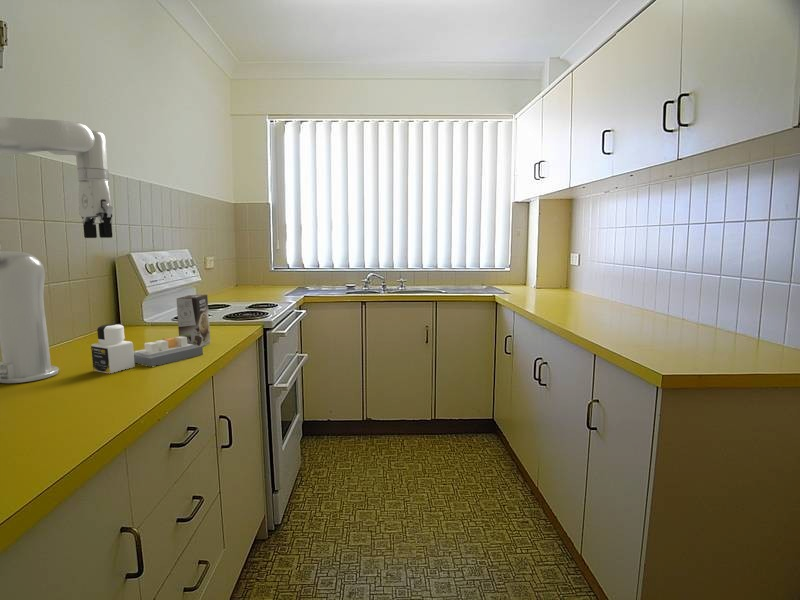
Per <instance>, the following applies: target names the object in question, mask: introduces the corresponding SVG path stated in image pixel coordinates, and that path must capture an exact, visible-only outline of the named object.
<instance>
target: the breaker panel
mask: <svg viewBox="0 0 800 600" xmlns="http://www.w3.org/2000/svg"><path fill="white" fill-rule="evenodd" d="M133 352H134V363H138V364H137V365H139V364H143V365H147V366H150V367H149V368H152V367H151V366H155V367H157V366H156V365H159V366H162V364H163V365H166V363H167V364H170V363H174V362H179V361H183V360H186V359H191V358H194V357H198V356H203V355H204V351H203V347H202V346H197V345H193V344H187V337H183V336H179V335H178V336H174V337H165V338H162V339H160V340H155V341H150V342H149V341H148V342H144V348H141V349H139V350H133ZM143 365H142V366H143ZM147 366H146V367H147Z"/></svg>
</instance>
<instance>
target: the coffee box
mask: <svg viewBox="0 0 800 600" xmlns="http://www.w3.org/2000/svg"><path fill="white" fill-rule="evenodd" d="M176 309H177V310H176V311H177V312H176V313H177V328H178V336H183V337H187V344H193V345H197V346H202V348H204V347H206V346H207V345H209V344H211V331H210V318H209V302H208V294H192V295H191V294H189V295H184V296H182V297H178V298H176Z"/></svg>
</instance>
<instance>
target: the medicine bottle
mask: <svg viewBox="0 0 800 600" xmlns="http://www.w3.org/2000/svg"><path fill="white" fill-rule="evenodd" d="M96 330H97V340H98V342H97V343H92V344H91V345H90V350H91V358H92V368H93V370H92V371H94V372H98V373H102V374H103V373H104V374H108V373H109V374H108V375H110V373H111V374H114V372H115V373H118V371H119V372H121V370H123V371H126V370H129V368H130V369H134V368H135V367H136V366H135V365H136V364H135V363H134V352H133V351H134V344H133V342H132V341H129V340H125V339H126V337H125V328H124V325H123V324H121V323H110V324H103V325H100V326H98V327H97V329H96ZM133 367H134V368H133ZM125 369H126V370H125Z"/></svg>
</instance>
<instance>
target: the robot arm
mask: <svg viewBox="0 0 800 600" xmlns="http://www.w3.org/2000/svg"><path fill="white" fill-rule="evenodd" d="M107 148H108V147H107V138H106V136H105V134H104V133H103V132H100V131H99V130H98V131H97V130H91V129H90V128H89V127H88V126H87V125H85V124H83V123H80V122H77V121H69V120H59V119H43V118H42V119H41V118H27V117H26V118H24V117H23V118H22V117H13V116H12V117H10V116H7V117H6V116H0V155H19V154H23V155H24V154H30V153H38V152H48V153H50V154H53V155H59V156H74V157H76V160H75V161H76V172H77V181H78V212H79V213H78V215H79V216H80V217H81V219H82V220H81V221H82V227H83V237H84V238H85V239H97V237H98V233H97V224H96V218H97V219H98V221H99V222H98V232H99V238H101V239H102V238H103V239H106V238H107V239H108V238H110V239H111V238H113V226H112V223H113V220H112V219H113V205H112V201H111V194H110V188H109V184H110V175H109V174H110V173H109V172H110V171H109V160H108V149H107ZM1 249H2V244H1V242H0V349H1V356H2V357H1V358H2V361H0V383H1V384H18V383H20V384H21V383H27V382H35V381H39V380H44V379H48V378H51V377H54V376H55V375H57V374H58V373H59V370H60V368H59V367H58V366H56V365H51V364H52V362H51V354H50V345H49V336H48V335H49V334H48V329H47V328H48V327H47V318H46V313H45V312H46V311H45V303H44V300H45V299H44V296H45V295H44V291H45V290H44V288H45V280H46V270H45V267H44V264H43V263H42V262H41V260H40V259H39V258H37V257H36V256H35V255H33V254H31V253H28V252H25V251H24V252H23V251H1Z"/></svg>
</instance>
